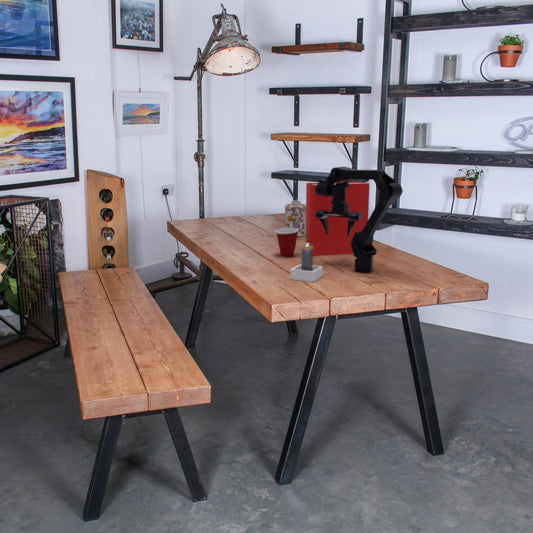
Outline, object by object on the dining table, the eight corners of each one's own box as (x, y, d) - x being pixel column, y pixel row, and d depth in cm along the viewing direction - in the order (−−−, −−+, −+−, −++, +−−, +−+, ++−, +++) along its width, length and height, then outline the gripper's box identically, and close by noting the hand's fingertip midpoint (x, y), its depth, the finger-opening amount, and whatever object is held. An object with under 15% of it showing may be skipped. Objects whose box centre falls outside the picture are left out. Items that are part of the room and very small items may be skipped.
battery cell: (311, 275, 242) (312, 242, 239) (313, 278, 238) (313, 244, 235) (300, 275, 242) (301, 242, 239) (301, 278, 238) (302, 244, 234)
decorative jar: (307, 237, 320) (307, 202, 315) (284, 237, 320) (284, 202, 315) (306, 232, 331) (306, 199, 327) (284, 232, 331) (284, 199, 327)
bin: (322, 276, 242) (322, 266, 241) (313, 282, 234) (313, 272, 233) (300, 273, 246) (300, 264, 245) (290, 279, 238) (290, 269, 237)
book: (360, 249, 290) (362, 181, 282) (367, 253, 282) (369, 183, 274) (304, 252, 284) (305, 182, 276) (309, 256, 276) (310, 184, 269)
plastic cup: (271, 254, 281) (271, 228, 278) (293, 252, 284) (293, 226, 282) (280, 259, 271) (280, 232, 268) (302, 257, 275) (302, 230, 272)
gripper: (366, 196, 255) (365, 233, 259) (324, 194, 263) (323, 230, 267) (358, 200, 246) (357, 238, 249) (314, 197, 254) (314, 234, 257)
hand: (338, 235), depth 256 cm, fingers open, 9 cm apart
